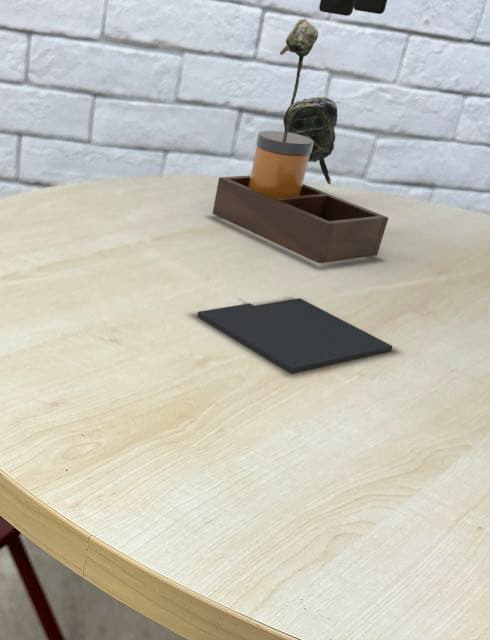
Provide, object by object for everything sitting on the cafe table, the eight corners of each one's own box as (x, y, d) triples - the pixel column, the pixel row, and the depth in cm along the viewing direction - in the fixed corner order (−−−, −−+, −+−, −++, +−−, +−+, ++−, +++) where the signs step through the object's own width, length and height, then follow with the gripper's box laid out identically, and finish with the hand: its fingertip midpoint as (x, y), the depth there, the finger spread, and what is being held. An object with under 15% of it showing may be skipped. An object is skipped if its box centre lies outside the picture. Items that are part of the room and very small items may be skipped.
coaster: (294, 300, 81) (295, 295, 80) (391, 351, 73) (393, 346, 73) (196, 316, 75) (197, 311, 74) (290, 373, 67) (292, 368, 67)
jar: (268, 212, 103) (286, 129, 97) (304, 227, 99) (325, 143, 93) (230, 215, 100) (246, 131, 94) (265, 232, 96) (285, 144, 90)
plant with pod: (321, 209, 109) (368, 29, 97) (235, 193, 111) (270, 15, 99) (328, 195, 115) (373, 24, 103) (246, 180, 117) (281, 11, 105)
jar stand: (268, 212, 105) (276, 173, 102) (376, 260, 94) (388, 217, 91) (211, 218, 100) (218, 177, 98) (317, 268, 89) (329, 223, 86)
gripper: (422, -230, 67) (358, 20, 77) (475, -197, 79) (413, 17, 89) (333, -234, 70) (283, 8, 80) (397, -201, 82) (346, 6, 92)
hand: (352, 12), depth 85 cm, fingers open, 9 cm apart
